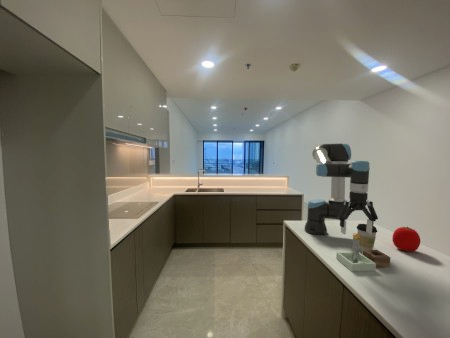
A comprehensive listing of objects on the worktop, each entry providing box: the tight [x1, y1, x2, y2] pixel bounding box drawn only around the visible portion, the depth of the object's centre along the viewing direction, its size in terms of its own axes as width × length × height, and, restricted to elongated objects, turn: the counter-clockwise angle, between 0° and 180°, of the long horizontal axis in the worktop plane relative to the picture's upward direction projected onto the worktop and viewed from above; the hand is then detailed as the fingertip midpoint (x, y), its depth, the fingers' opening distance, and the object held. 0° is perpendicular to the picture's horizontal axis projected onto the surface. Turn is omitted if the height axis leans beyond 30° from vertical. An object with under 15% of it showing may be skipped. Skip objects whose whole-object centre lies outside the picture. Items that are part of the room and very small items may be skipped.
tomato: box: [392, 226, 421, 253], centre depth 118 cm, size 13×11×14 cm
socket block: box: [362, 249, 391, 268], centre depth 103 cm, size 8×8×5 cm
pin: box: [351, 233, 360, 263], centre depth 101 cm, size 3×3×15 cm
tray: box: [335, 251, 377, 272], centre depth 101 cm, size 12×12×4 cm
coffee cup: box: [356, 223, 378, 253], centre depth 115 cm, size 10×10×15 cm
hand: (356, 233), depth 101 cm, fingers open, 13 cm apart
